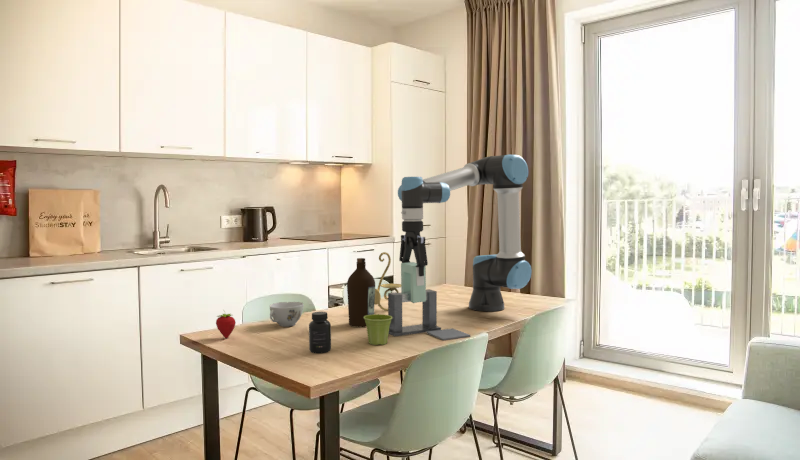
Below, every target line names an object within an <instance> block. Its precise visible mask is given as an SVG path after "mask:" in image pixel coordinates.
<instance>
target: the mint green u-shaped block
mask: <svg viewBox="0 0 800 460" xmlns="http://www.w3.org/2000/svg"><path fill="white" fill-rule="evenodd" d="M416 265H417V262H416V261H415V262H414V261H410V262H409V263H402V262H401V263H400V284H401V287H400V291H401V292H411V302H410V303H413V304H416V303H422V302H426V290H427V289H426V288H427V286H426V285H427V279H426V273H427V272H426V266H427V265H426V266H425V267H424V285H421V286H416ZM401 292H400V293H401Z"/></svg>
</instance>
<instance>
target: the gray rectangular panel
mask: <svg viewBox="0 0 800 460" xmlns="http://www.w3.org/2000/svg"><path fill="white" fill-rule="evenodd" d="M425 333H426V334H427V335H429V336H431V337H434V338H437V339H439V340H441V341H448V340H457V339H463V338H470V337H471V334H469V333H466V332H464V331H461V330H458V329H455V328H453V327H452V328H451V327H450V328H445V329H441V330H436V331H429V332H425Z"/></svg>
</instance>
